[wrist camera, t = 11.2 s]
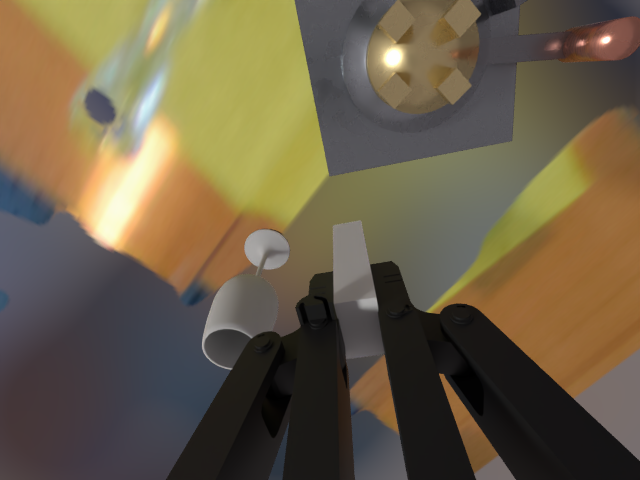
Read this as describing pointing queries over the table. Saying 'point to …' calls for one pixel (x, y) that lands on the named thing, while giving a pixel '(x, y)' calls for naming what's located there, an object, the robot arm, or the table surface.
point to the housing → (379, 118)
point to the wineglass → (245, 301)
